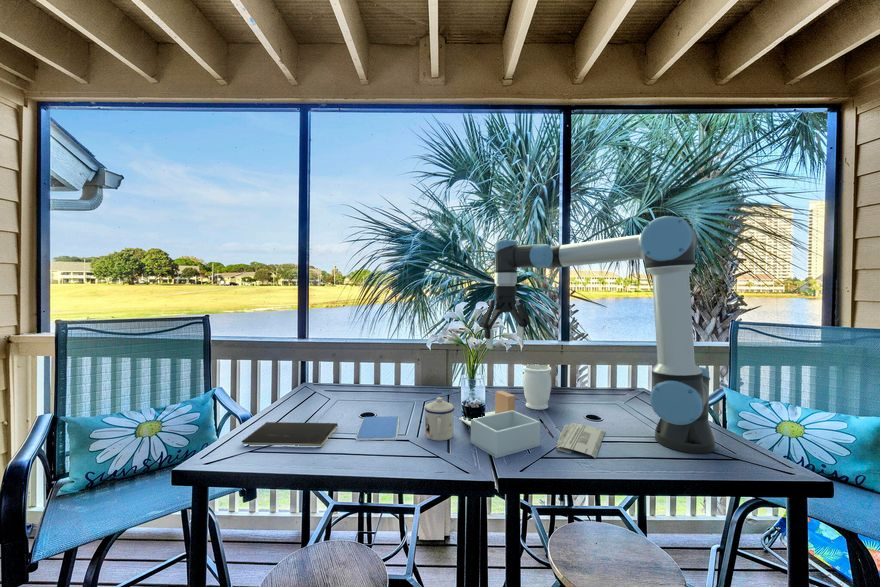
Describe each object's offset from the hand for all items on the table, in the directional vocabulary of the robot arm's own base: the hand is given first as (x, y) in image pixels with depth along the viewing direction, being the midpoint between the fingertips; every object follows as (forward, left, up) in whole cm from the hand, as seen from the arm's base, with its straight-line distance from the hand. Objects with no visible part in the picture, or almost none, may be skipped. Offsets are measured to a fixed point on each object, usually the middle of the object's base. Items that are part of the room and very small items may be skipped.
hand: (505, 346), depth 139 cm
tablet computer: (+12, +42, -26) cm, 50 cm away
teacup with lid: (-4, +29, -25) cm, 38 cm away
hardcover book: (+19, +67, -26) cm, 74 cm away
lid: (0, +7, -25) cm, 26 cm away
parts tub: (-18, +15, -25) cm, 34 cm away
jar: (+3, -18, -25) cm, 31 cm away
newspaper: (-27, -6, -26) cm, 38 cm away
